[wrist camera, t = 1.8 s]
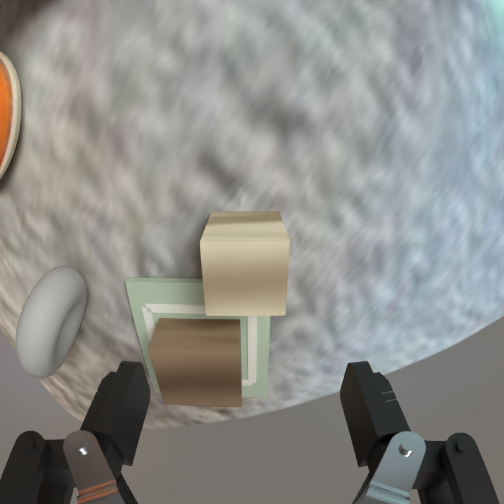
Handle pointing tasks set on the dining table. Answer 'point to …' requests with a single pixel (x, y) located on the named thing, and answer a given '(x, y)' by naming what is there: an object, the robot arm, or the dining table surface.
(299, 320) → the dining table surface
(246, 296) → the maple block
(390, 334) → the dining table surface
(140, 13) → the dining table surface
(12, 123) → the stacking toy
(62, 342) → the donut
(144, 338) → the build board
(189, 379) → the walnut block
